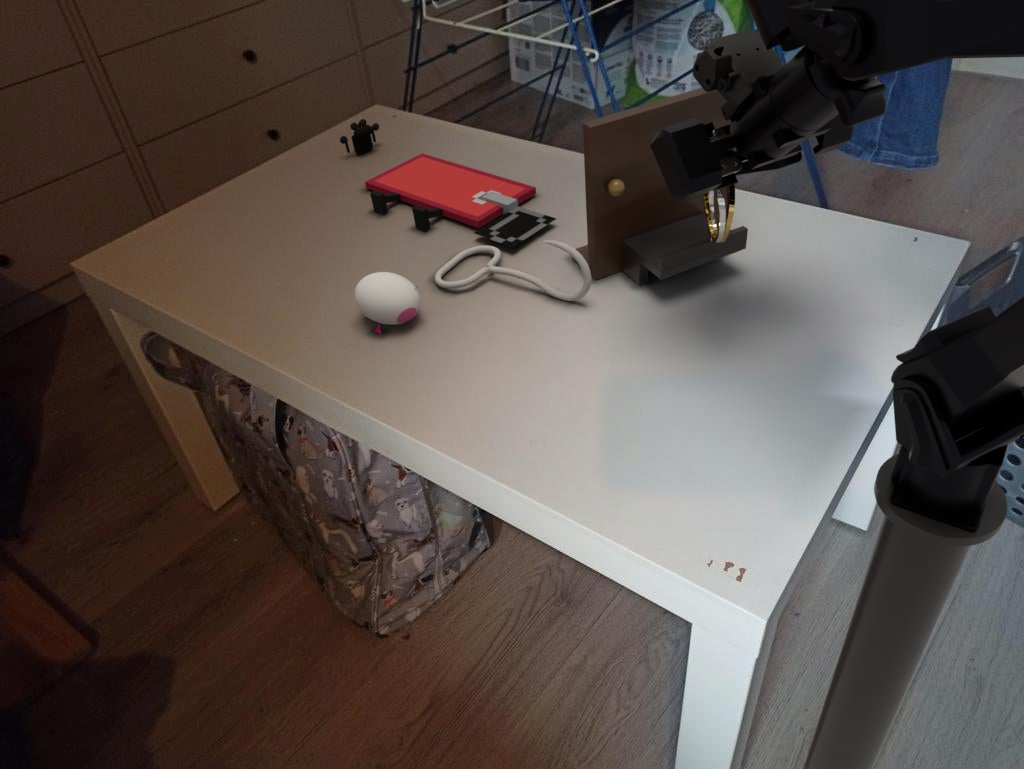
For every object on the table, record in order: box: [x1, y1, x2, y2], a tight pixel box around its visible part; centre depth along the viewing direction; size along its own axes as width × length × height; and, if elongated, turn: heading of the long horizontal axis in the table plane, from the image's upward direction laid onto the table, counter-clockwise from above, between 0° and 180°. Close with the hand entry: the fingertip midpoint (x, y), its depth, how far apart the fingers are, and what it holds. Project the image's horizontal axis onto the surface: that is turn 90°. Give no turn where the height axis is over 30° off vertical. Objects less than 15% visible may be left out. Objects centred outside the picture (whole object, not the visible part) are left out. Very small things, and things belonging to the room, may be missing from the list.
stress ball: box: [354, 271, 421, 335], centre depth 87 cm, size 8×8×7 cm
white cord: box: [434, 239, 592, 302], centre depth 89 cm, size 7×9×20 cm
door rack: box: [571, 87, 749, 286], centre depth 86 cm, size 13×18×18 cm
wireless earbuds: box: [339, 118, 380, 155], centre depth 122 cm, size 7×2×5 cm, turn 131°
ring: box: [703, 174, 737, 243], centre depth 79 cm, size 7×3×8 cm, turn 179°
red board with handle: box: [364, 152, 557, 248], centre depth 106 cm, size 30×3×15 cm
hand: (710, 176), depth 79 cm, fingers closed on ring, 3 cm apart
